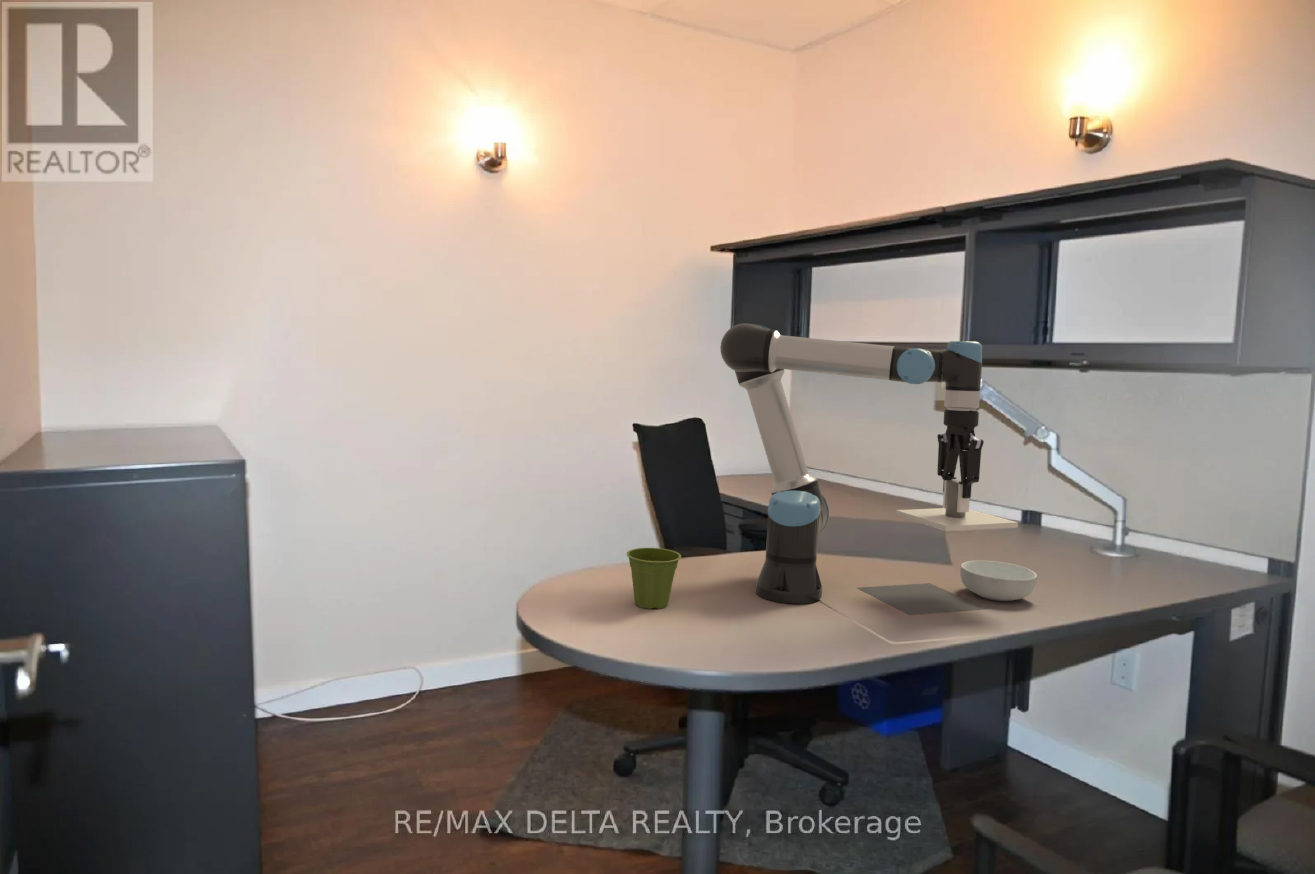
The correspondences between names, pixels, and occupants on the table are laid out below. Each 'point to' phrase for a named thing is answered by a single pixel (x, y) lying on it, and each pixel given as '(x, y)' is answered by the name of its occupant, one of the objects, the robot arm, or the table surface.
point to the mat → (921, 599)
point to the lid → (955, 515)
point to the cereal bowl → (998, 579)
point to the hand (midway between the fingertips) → (955, 509)
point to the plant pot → (652, 575)
